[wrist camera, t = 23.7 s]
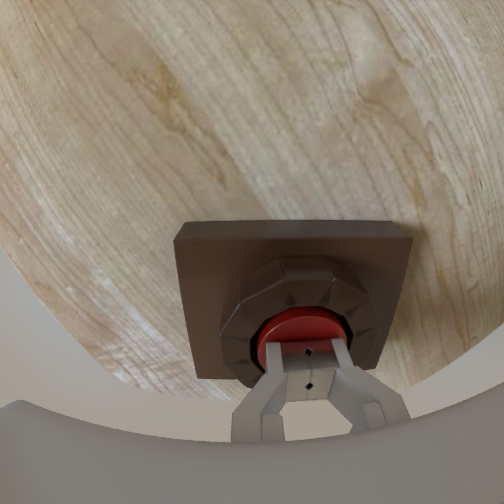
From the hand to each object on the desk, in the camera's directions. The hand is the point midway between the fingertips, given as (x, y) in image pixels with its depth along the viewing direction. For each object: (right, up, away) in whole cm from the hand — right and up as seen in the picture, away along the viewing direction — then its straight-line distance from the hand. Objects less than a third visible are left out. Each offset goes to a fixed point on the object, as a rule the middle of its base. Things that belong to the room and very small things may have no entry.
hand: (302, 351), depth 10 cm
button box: (0, +2, +4) cm, 4 cm away
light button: (0, +1, +2) cm, 2 cm away
